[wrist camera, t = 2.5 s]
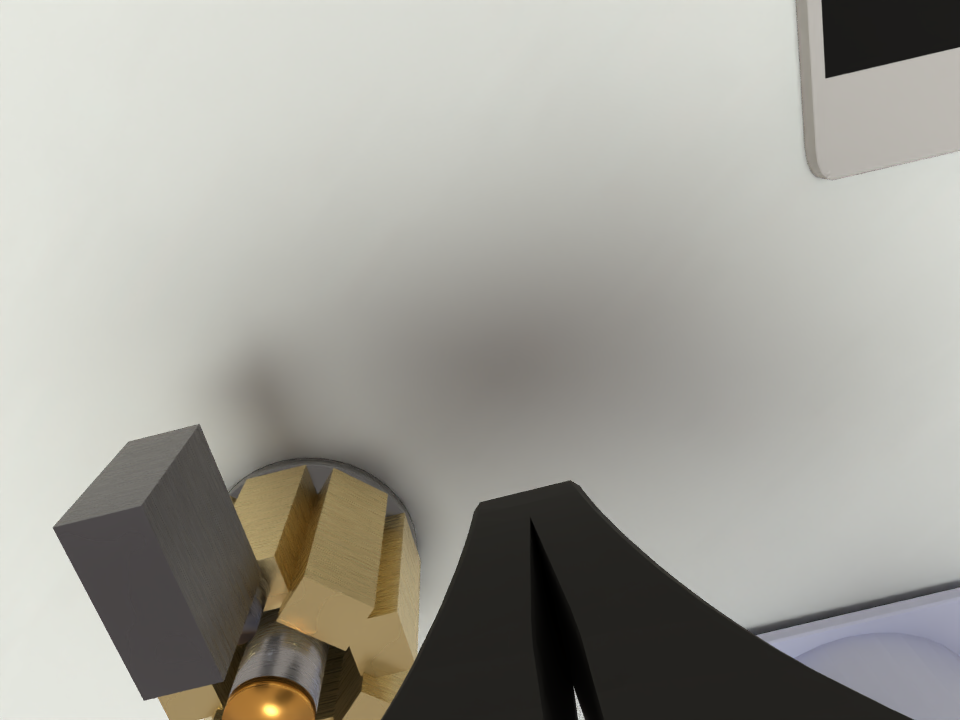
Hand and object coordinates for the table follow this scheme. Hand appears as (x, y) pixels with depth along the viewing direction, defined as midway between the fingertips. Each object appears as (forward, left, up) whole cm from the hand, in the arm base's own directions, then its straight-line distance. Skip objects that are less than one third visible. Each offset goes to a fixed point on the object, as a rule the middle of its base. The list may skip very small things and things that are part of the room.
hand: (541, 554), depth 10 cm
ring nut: (-2, +5, -7) cm, 9 cm away
